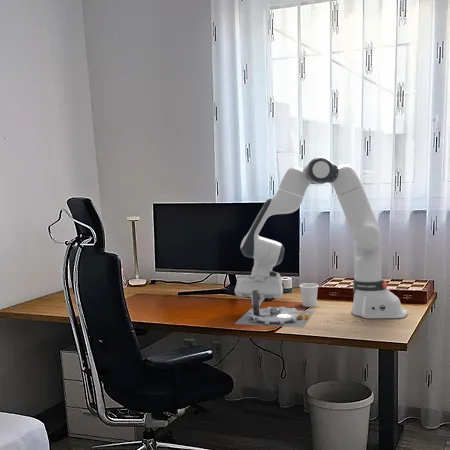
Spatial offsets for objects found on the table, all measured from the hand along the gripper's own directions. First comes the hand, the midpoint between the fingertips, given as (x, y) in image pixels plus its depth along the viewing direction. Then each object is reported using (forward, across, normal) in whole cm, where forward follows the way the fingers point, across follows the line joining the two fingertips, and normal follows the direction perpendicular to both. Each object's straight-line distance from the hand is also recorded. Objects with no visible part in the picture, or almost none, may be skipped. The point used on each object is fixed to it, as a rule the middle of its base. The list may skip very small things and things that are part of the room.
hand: (255, 305), depth 240 cm
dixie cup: (-13, +18, +22) cm, 31 cm away
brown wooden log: (-24, -3, +34) cm, 42 cm away
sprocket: (+2, +8, +5) cm, 10 cm away
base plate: (+3, +8, +6) cm, 10 cm away
